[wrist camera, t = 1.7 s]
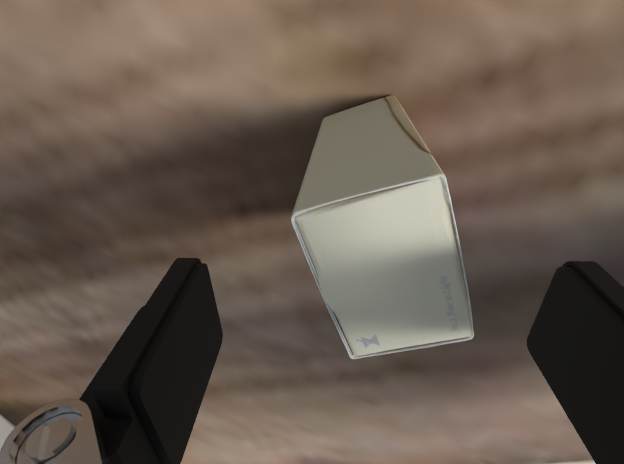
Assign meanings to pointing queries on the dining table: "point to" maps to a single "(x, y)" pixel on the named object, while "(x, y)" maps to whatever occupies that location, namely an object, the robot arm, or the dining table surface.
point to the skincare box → (382, 234)
